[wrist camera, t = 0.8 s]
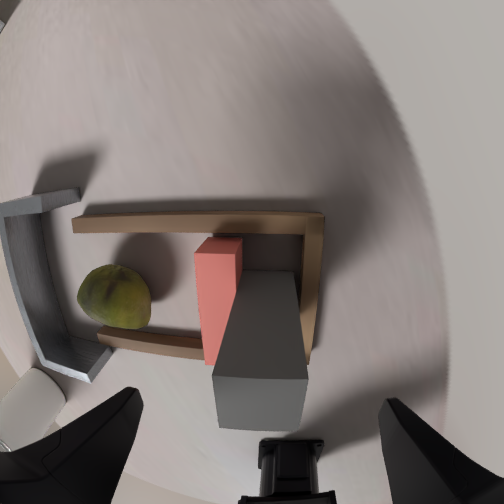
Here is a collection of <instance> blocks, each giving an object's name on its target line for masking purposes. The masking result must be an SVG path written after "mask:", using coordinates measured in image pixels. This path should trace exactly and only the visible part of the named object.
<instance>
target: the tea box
mask: <svg viewBox="0 0 504 504" xmlns="http://www.w3.org/2000/svg"><path fill="white" fill-rule="evenodd" d="M4 25H5V23H3V22H2V21H1V20H0V32H1V31H2V29H3V27H4Z"/></svg>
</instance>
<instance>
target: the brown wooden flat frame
mask: <svg viewBox="0 0 504 504" xmlns="http://www.w3.org/2000/svg"><path fill="white" fill-rule="evenodd" d="M324 220H325V217H324V216H323V214H322V213H311V212H275V211H172V212H137V213H113V214H94V215H81V216H78V217H75V218H72V226H73V233H133V232H186V233H265V234H303V241H302V259H301V275H300V289H299V302H298V306H299V313H300V320H301V327H302V334H303V341H304V348H305V356H306V363H307V365H309V361H310V354H311V348H312V341H313V334H314V326H315V318H316V310H317V302H318V293H319V283H320V273H321V262H322V249H323V236H324ZM97 336H98V340H99V343H100V344H104V345H108V346H113V347H118V348H123V349H128V350H134V351H140V352H146V353H152V354H158V355H165V356H172V357H180V358H188V359H197V360H205V358H204V350H203V342H202V339H199V338H188V337H179V336H170V335H161V334H154V333H146V332H139V331H132V330H126V329H120V328H114V327H108V326H103V327H102V328H101V329H100V330H99V331H98V332H97Z"/></svg>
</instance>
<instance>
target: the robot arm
mask: <svg viewBox="0 0 504 504" xmlns="http://www.w3.org/2000/svg"><path fill="white" fill-rule="evenodd" d="M143 406H144V405H143V400H142V398H141V395H140V392H139V390H138V389H137V388H133V387H126V388H124V389H123V390H121V391H120V392H118V393H117V394H115V395H114V396H112V397H111V398H109V399H107V400H106V401H104V402H103V403H101V404H100V405H98V406H96V407H95V408H93V409H92V410H90V411H89V412H87V413H85V414H84V415H82V416H81V417H79V418H77V419H76V420H74V421H72V422H71V423H69V424H67V425H66V426H64V427H62V429H59V430H58V431H56V432H54V433H52V434H50V435H48V436H47V437H45V438H43V439H41V440H38V441H36V442H34V443H32V444H29V445H27V446H24V447H22V448H19V449H17V450H14V451H10V452H0V504H111V501H112V498H113V496H114V493H115V490H116V487H117V485H118V482H119V479H120V477H121V474H122V471H123V469H124V466H125V463H126V461H127V458H128V456H129V453H130V451H131V448H132V446H133V443H134V440H135V437H136V433H137V430H138V426H139V422H140V418H141V414H142V411H143ZM378 418H379V426H380V435H381V444H382V452H383V456H384V461H385V466H386V470H387V475H388V480H389V485H390V490H391V496H392V501H393V504H504V478H502V477H499V476H497V475H495V474H494V473H492V472H490V471H489V470H487V469H485V468H484V467H482V466H481V465H479V464H477V463H476V462H474V461H473V460H471V459H470V458H469V457H467V456H466V455H465V454H463V453H462V452H461V451H460V450H458V449H457V448H455V446H453V445H452V444H451V443H450V442H449V441H447V440H446V439H445V438H444V437H443V436H441V435H440V434H439V433H438V432H437V431H435V430H434V429H433V428H432V427H431V426H430V425H428V424H427V423H426V422H425V421H424V420H422V419H421V418H420V417H419V416H418V415H417V414H415V413H414V412H413V411H412V410H411V409H409V408H408V407H407V406H406V405H405V404H404V403H402V402H401V401H400V400H399V399H398V398H396V397H393V398H387V399H385V401H384V403H383V405H382V407H381V409H380V411H379V415H378ZM323 447H324V441H323V440H313V441H260V442H259V457H258V468H259V469H261V481H260V494H259V497H251V496H241V500H238V504H337V502H336V496H335V490H331V491H329V492H323V493H319V487H318V473H317V461H318V459H319V457H320V454H321V452H322V449H323Z"/></svg>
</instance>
